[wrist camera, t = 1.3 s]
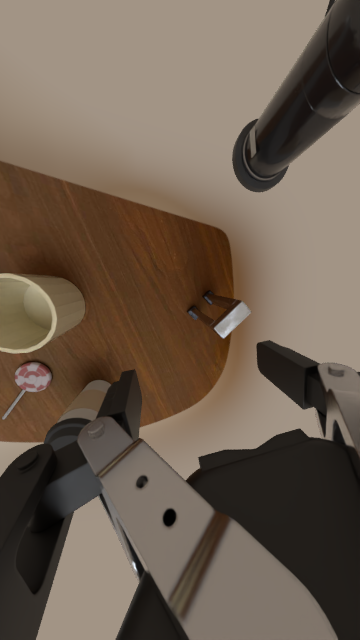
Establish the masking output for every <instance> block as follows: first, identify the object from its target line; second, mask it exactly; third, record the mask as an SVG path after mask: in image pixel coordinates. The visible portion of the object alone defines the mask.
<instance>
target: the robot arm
mask: <svg viewBox="0 0 360 640" xmlns="http://www.w3.org/2000/svg"><path fill="white" fill-rule="evenodd" d="M359 104H360V0H336V1H335V0H330V2H329V5H328V9H327V12H326V15H325V18H324V20H323V21H322V23H321V24H320V26H319V27H318V29H317V30H316V32H315V33H314V35H313V36H312V38H311V40H310V41H309V43H308V44H307V46H306V47H305V49H304V50H303V52H302V54H301V55H300V57H299V58H298V60H297V61H296V63H295V64H294V66H293V67H292V69H291V71H290V72H289V74H288V75H287V76H286V78H285V80H284V81H283V83H282V84H281V86H280V87H279V89H278V90H277V92H276V93H275V95H274V96H273V98H272V99H271V101H270V103H269V104H268V106H267V107H266V109H265V110H264V112H263V113H262V115H261V116H260V118H259V119H258V121H257V122H256V124H255V125H254V127H253V128H252V129H251V130H250V132H249V133H248V135H247V137H246V138H245V140H244V143H243V147H242V162H243V166H244V168H245V170H246V172H247V173H248V175H249V176H250V177H251V178H253V179H254V180H256V181H260V182H266V181H270V180H272V179H273V178H275V177H276V176H277V175H278V174H279V173H280V172H281V171H282V170H283V169H284V168H286V167H287V166H288V165H289V164H290V163H291V162H293V161H294V160H295V159H296V158H297V157H298V156H300V155H301V154H302V153H303V152H304V151H305V150H307V149H308V148H309V147H310V146H311V145H312V144H314V143H315V142H316V141H317V140H318V139H319V138H321V137H322V136H323V135H324V134H325V133H326V132H328V131H329V130H330V129H331V128H332V127H333V126H334V125H336V124H337V123H338V122H339V121H340V120H342V119H343V118H344V117H345V116H346V115H347V114H349V112H351V111H352V110H353V109H354V108H355V107H356V106H358V105H359ZM257 364H258V368H259V371H260V372H261V373H262V374H263V375H264V376H265V377H266V378H267V379H268V380H270V381H271V382H272V383H273V384H274V385H275V386H277V387H278V388H279V389H280V390H281V391H282V392H284V393H285V394H286V395H287V396H288V397H289V398H291V399H292V400H293V401H294V402H295V403H296V404H298V405H299V406H300V407H301V408H302V409H307V408H311V407H315V408H316V418H317V422H318V426H319V430H320V434H321V438H322V439H321V438H313V437H308V436H307V435H306V434H305V433H304V432H303V431H302V430H301V429H296V430H292V431H289V432H285V433H282V434H279V435H276V436H274V437H273V438H271V439H270V440H268V441H267V442H265V443H264V444H262V445H261V446H259V447H258V448H256V449H242V450H223V451H219V452H215V453H212V454H208V455H205V456H201V457H199V464H200V469H198V470H196V471H195V472H194V473H193V474H192V475H190V476H189V478H188V479H187V480H186V481H185V480H184V479H183V478H182V477H181V476H180V475H179V474H178V473H177V472H176V471H175V470H174V469H172V467H171V466H170V465H169V464H168V463H167V462H166V461H164V460H163V459H162V458H161V457H160V456H159V455H158V454H157V453H156V452H155V451H154V450H153V449H152V448H151V447H150V446H149V445H148V444H147V443H146V442H145V441H144V440H143V439H141V438H139V439H138V437H139V427H140V417H141V406H142V396H141V390H140V386H139V382H138V378H137V374H136V371H135V369H134V370H129V371H125V372H122V374H121V377H120V380H119V381H117V382H114V383H113V384H112V385H111V386H110V387H109V388H108V390H107V393H106V396H105V397H104V401H103V402H102V405H101V407H100V409H99V412H98V414H97V416H96V419H95V420H93V421H91V422H90V423H88V424H87V425H86V426H85V427H84V428H83V429H82V430H81V431H80V433H79V435H78V438H77V440H76V441H74V442H72V443H70V444H68V445H66V446H64V447H62V448H60V449H58V450H56V451H54V450H53V447H52V445H50V444H40V445H37V446H35V447H33V448H31V449H29V450H27V451H26V452H24V453H23V454H21V455H20V456H19V457H18V458H16V459H15V460H14V461H13V462H12V463H11V464H10V465H9V466H8V468H7V469H6V470H5V472H4V473H3V474H2V476H1V477H0V640H36V637H37V634H38V630H39V627H40V624H41V620H42V617H43V614H44V610H45V607H46V603H47V600H48V597H49V594H50V590H51V587H52V584H53V580H54V576H55V573H56V570H57V566H58V563H59V560H60V556H61V553H62V549H63V547H64V543H65V540H66V536H67V533H68V530H69V526H70V523H71V520H72V516H73V513H74V511H75V510H77V509H78V508H80V507H81V506H83V505H84V504H86V503H87V502H89V501H91V500H92V499H94V498H95V497H97V496H98V497H99V499H100V501H101V503H102V505H103V507H104V509H105V511H106V513H107V515H108V518H109V519H110V522H111V523H112V525H113V528H114V530H115V532H116V534H117V536H118V538H119V540H120V542H121V545H122V547H123V550H124V552H125V554H126V556H127V559H128V561H129V563H130V565H131V567H132V570H133V572H134V574H135V576H136V578H137V580H138V582H139V585H138V587H137V589H136V592H135V594H134V597H133V599H132V601H131V604H130V607H129V609H128V611H127V613H126V616H125V618H124V621H123V623H122V626H121V628H120V630H119V633H118V635H117V638H116V640H360V372H356V371H355V370H354V369H352V368H350V367H348V366H345V365H342V364H337V363H322V364H319V363H317V362H315V361H313V360H311V359H309V358H307V357H305V356H303V355H301V354H299V353H297V352H295V351H293V350H291V349H289V348H286V347H282V346H280V345H278V344H276V343H273V342H272V341H270V340H269V341H264V342H260V343H258V344H257Z"/></svg>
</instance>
